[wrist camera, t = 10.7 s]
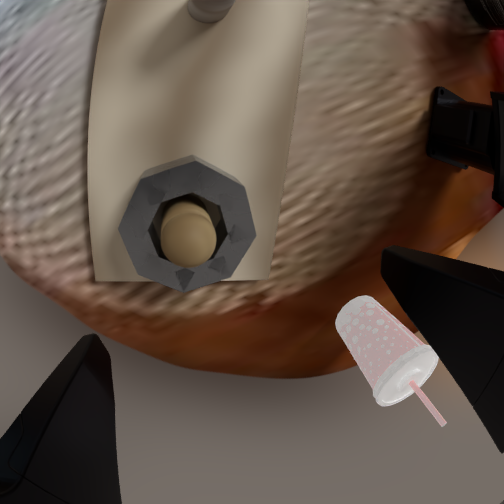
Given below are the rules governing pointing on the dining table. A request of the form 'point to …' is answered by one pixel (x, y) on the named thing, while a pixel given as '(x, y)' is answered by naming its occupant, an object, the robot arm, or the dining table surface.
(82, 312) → the dining table surface
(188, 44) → the base board
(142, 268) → the steel ring
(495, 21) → the supplement bottle
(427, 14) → the dining table surface
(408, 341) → the beverage cup
